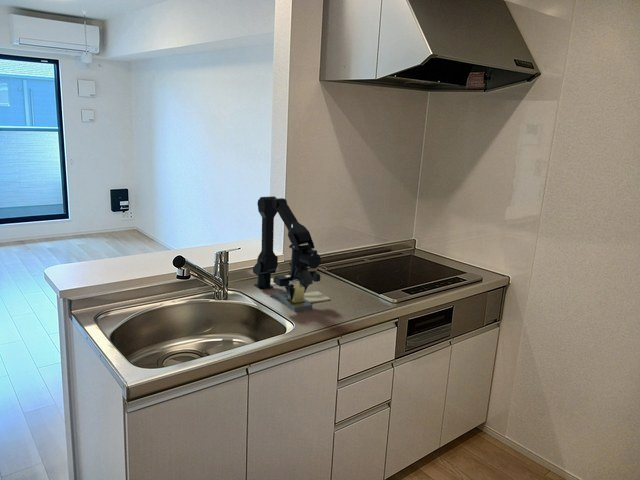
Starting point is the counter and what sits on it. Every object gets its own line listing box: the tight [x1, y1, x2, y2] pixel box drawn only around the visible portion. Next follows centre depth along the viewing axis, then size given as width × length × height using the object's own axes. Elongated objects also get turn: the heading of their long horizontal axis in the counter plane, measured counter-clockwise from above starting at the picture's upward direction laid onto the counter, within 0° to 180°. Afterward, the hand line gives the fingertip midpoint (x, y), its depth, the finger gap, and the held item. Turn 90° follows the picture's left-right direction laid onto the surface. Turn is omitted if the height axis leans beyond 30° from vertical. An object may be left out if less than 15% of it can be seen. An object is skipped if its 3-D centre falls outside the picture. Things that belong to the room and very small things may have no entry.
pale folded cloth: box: [304, 290, 331, 304], centre depth 205 cm, size 10×10×1 cm
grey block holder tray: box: [272, 289, 313, 312], centre depth 198 cm, size 18×8×2 cm, turn 34°
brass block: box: [288, 282, 305, 305], centre depth 195 cm, size 4×4×8 cm
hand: (296, 298), depth 195 cm, fingers closed on brass block, 4 cm apart
